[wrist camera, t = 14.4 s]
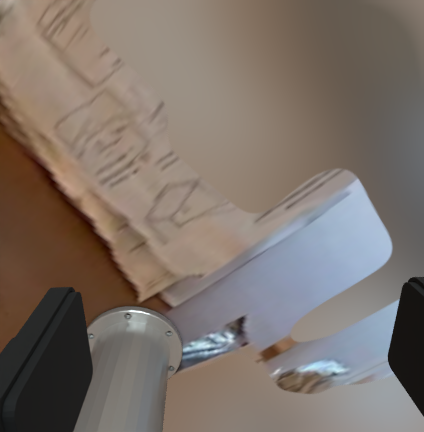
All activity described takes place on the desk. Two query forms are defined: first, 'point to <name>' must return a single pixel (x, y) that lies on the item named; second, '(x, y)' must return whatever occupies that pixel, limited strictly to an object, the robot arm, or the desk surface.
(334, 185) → the desk surface
